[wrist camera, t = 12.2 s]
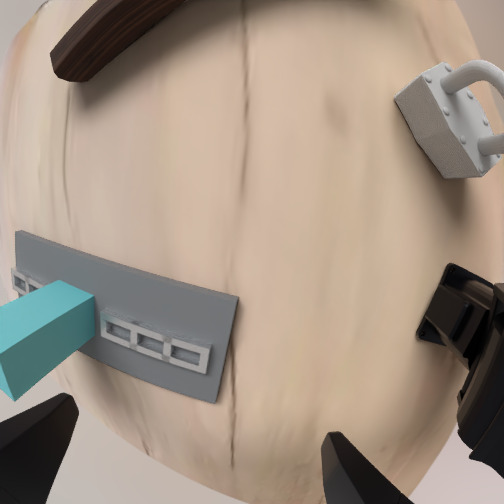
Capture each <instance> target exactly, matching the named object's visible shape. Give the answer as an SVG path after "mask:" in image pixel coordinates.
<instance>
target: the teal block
mask: <svg viewBox="0 0 504 504" xmlns="http://www.w3.org/2000/svg"><path fill="white" fill-rule="evenodd" d="M93 336H95V316H94V295H92V294H90V293H87V292H85V291H83V290H80V289H78V288H76V287H74V286H72V285H69V284H67V283H65V282H63V281H61V280H57V281H55V282H53V283H51V284H48V285H46V286H44V287H42V288H39V289H37V290H35V291H33V292H31V293H28V294H26V295H24V296H22V297H20V298H18V299H16V300H14V301H12V302H9V303H7V304H5V305H3V306H1V307H0V389H1V390H3V391H4V392H5V393H6V394H7V395H8V396H9V397H10V398H11V399H12V400H13V401H16V400H17V399H18V398H20V397H21V396H22V395H23V394H24V393H25V392H27V391H28V390H29V389H30V388H31V387H32V386H34V385H35V384H36V383H37V382H38V381H39V380H41V379H42V378H43V377H44V376H46V375H47V374H48V373H49V372H50V371H52V370H53V369H54V368H55V367H56V366H58V365H59V364H60V363H61V362H62V361H64V360H65V359H66V358H67V357H69V356H70V355H71V354H72V353H73V352H75V351H76V350H77V349H78V348H80V347H81V346H82V345H83V344H85V343H86V342H87V341H88V340H90V339H91V338H92V337H93Z"/></svg>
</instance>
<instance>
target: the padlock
mask: <svg viewBox="0 0 504 504" xmlns="http://www.w3.org/2000/svg"><path fill="white" fill-rule="evenodd" d="M481 80H484V81H488V82H489V83H491V84H492V85H493V86H494V87H495V88H496V89H497V90H498V91H499V93H500V94H501V95H502V97H503V98H504V72H503V71H502V70H501V69H499V68H498V67H497V66H495V65H494V64H492V63H490V62H487V61H484V60H472V61H469V62H466V63H464V64H463V65H461V66H460V67H458V68H457V69H455V70H453V69H452V68H451V66H450V65H449V64H448V63H447V62H442V63H440V64H438V65H436V66H434V67H432V68H430V69H428V70H426V71H424V72H423V73H421V74H420V75H418V76H417V77H416V78H415V79H414V80H413V81H411V82H410V83H409V84H408V85H407V86H405V87H404V88H403V89H402V90H401V91H400V92H398V93H397V94H396V95H395V96H394V99H395V101H396V103H397V104H398V106H399V108H400V110H401V112H402V114H403V116H404V117H405V119H406V121H407V123H408V125H409V127H410V129H411V131H412V133H413V135H414V137H415V140H416V141H417V143H418V144H419V145H420V146H421V148H422V149H423V150H424V152H425V153H426V154H427V155H428V157H429V158H430V159H431V161H432V162H433V163H434V165H435V166H436V168H437V169H438V170H439V172H440V173H441V175H442V176H443V178H445V179H453V178H474V177H482V176H484V175H485V174H486V173H487V172H488V171H489V170H490V169H491V168H492V167H493V166H494V165H495V164H496V163H497V162H498V161H499V160H500V159H501V158H502V155H501V154H504V133H502V134H497V135H494V134H493V131H492V129H491V126H490V124H489V121H488V119H487V117H486V115H485V112H484V110H483V108H482V106H481V104H480V103H479V102H478V100H477V99H476V97H475V96H474V95H473V93H472V92H471V91H470V90H469V88H468V87H467V86H469V85H470V84H472V83H474V82H476V81H481Z"/></svg>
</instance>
